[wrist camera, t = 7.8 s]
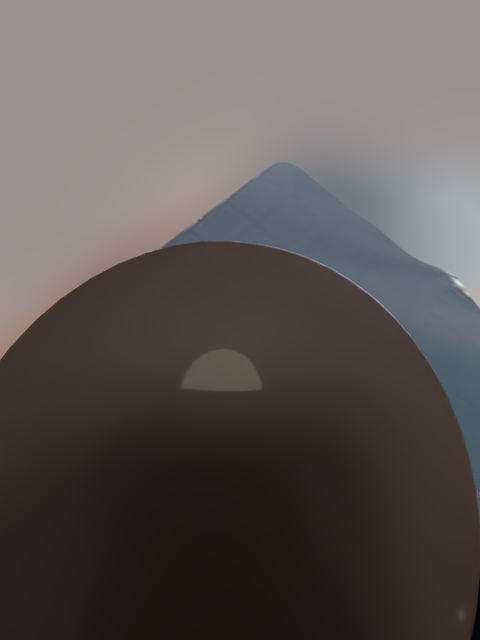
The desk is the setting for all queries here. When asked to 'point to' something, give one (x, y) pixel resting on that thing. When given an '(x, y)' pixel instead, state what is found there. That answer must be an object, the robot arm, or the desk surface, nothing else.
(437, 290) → the desk surface
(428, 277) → the desk surface
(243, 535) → the cup
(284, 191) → the desk surface
